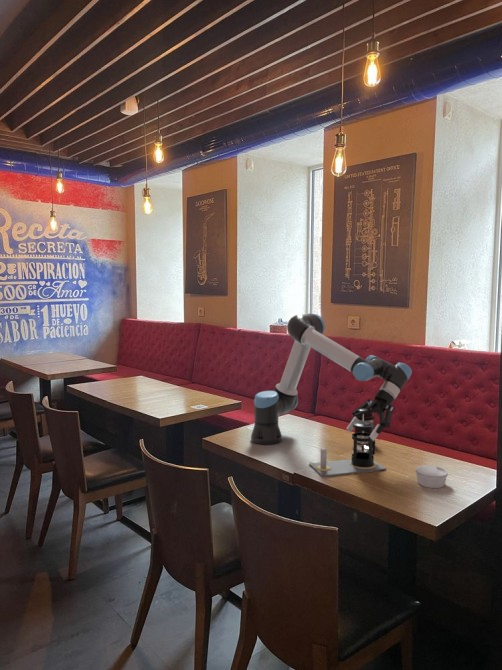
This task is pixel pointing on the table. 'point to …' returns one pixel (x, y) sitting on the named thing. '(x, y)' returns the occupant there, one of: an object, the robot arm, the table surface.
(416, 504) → the table surface
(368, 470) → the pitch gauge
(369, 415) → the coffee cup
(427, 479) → the ramekin
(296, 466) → the table surface
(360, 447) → the french press
